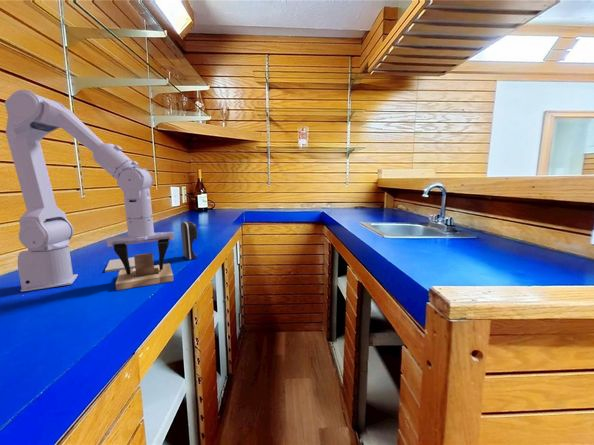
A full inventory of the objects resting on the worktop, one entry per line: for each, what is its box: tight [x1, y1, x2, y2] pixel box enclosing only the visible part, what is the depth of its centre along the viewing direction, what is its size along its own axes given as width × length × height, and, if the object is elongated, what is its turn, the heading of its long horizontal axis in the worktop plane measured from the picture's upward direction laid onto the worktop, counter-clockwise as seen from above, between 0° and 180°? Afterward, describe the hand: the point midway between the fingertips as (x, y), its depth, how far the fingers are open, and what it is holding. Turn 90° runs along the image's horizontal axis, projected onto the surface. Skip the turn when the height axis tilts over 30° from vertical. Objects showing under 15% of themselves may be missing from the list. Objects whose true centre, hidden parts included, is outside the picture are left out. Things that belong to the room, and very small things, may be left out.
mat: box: [104, 256, 154, 273], centre depth 89 cm, size 12×12×1 cm
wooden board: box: [115, 263, 174, 291], centre depth 75 cm, size 12×12×2 cm
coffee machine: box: [180, 221, 199, 260], centre depth 94 cm, size 7×4×11 cm, turn 32°
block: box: [133, 252, 155, 277], centre depth 74 cm, size 4×4×6 cm
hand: (145, 271), depth 74 cm, fingers open, 7 cm apart
